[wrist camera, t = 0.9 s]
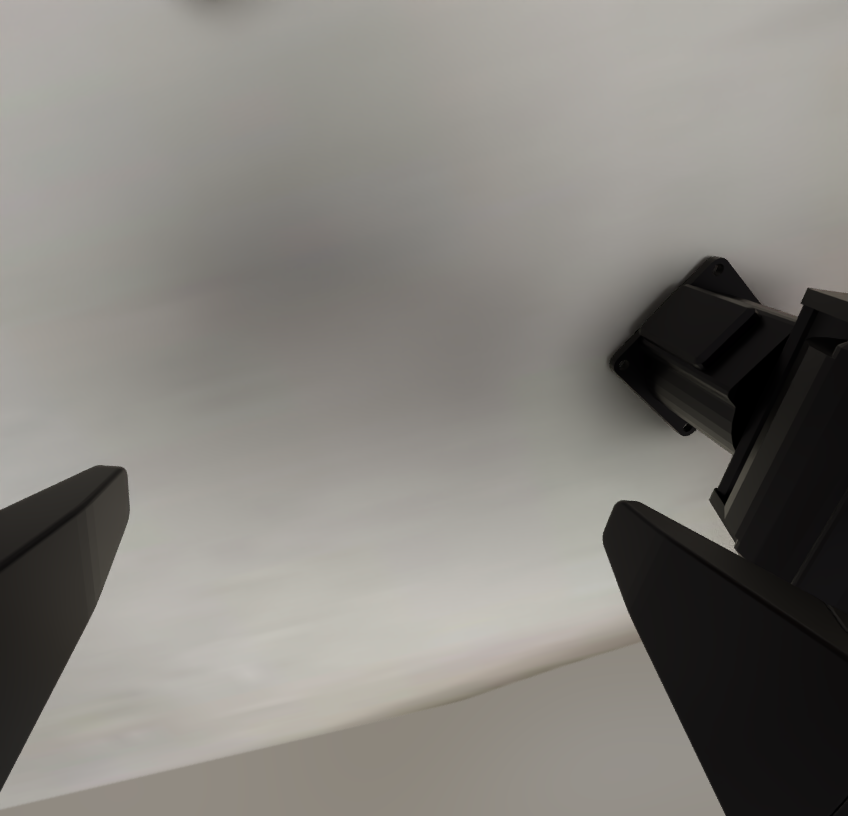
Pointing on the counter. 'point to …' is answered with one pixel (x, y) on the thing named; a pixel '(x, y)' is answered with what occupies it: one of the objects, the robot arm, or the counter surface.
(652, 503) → the counter surface
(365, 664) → the counter surface
